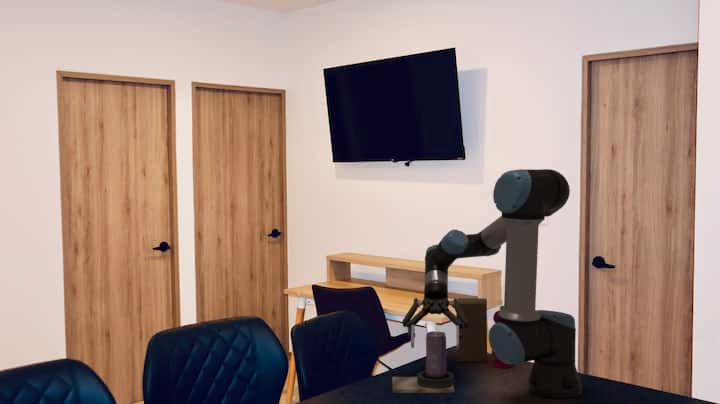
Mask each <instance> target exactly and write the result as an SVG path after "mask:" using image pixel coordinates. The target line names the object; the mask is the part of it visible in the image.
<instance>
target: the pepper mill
mask: <svg viewBox="0 0 720 404" xmlns="http://www.w3.org/2000/svg"><path fill="white" fill-rule="evenodd" d="M503 308H504V305H501V306H499V310H497V311H496V312H494V314H493V317H492V319H493V320H492V321H493V322H494V324H496V323H498V313H499V312H500V311H501V310H502V309H503ZM491 355H492V357H493V358H494V359H492V360H493V361H492V362H493V363H492V365H493V367H494V368H498V369H499V368H500V369H508V368H509V369H510V368H512V367H513V364H506V363H504V362H502V361H500V360H499V359H498V358H497V357H496V355H495V354H494V352H493V351H492V350H491Z"/></svg>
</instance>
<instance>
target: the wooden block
mask: <svg viewBox="0 0 720 404" xmlns="http://www.w3.org/2000/svg"><path fill="white" fill-rule="evenodd" d="M457 300H458V305H459V307H460V308H461V310H462V312H463V313H464V315H465V317H466V318H467V320H468V322H469V327H468V328H463V337H462V338H459V349H457V348H456V362H462V363H463V362H466V363H467V362H470V363H487V361H488V300H487V298H481V297H480V298H479V297H478V298H476V297H470V298H469V297H459V298H458V299H457ZM455 313H456V312H455ZM455 316H456V317H457V318H458V319H459V320H460V318H459V316H458V315H457V313H456V314H455ZM460 321H461V320H460ZM461 322H462V321H461Z"/></svg>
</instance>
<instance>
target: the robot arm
mask: <svg viewBox="0 0 720 404" xmlns="http://www.w3.org/2000/svg"><path fill="white" fill-rule="evenodd" d="M570 190H571V189H570V185H569V182H568V180H567V178H566V177H565V176H564V175H563V174H562V173H560V172H559V171H557V170H553V169H549V168H548V169H546V168H543V169H522V168H521V169H512V170H508V171H504V173H502V174H501V176H500V177H498V178H497V180H496V182H495V185H494V187H493V192H492V195H493V197H492V198H493V199H492V200H493V203H494V204H495V207H496V209H497V210H498V211H500V212H501V216H499V217H498V218H496V219H495V220H494V221H492V222H491V223H490V224H489V225H487V226H486V227H485V228H483V229H482V230H481V231H479V232H477V233H470V234H466V233H465V232H463V231H462V230H459V229H452V230H451V229H450V231H448V232H447V233H446V234H445V235H444V236H442V238H441V240H440V241H439V242H438V244H433V245H432V246H428V247H427V249H426V251H425V256H424V291H423V292H424V293H423V299H420V300H419V299H418V298H416V297H415V298H414V299H413V304H412V305H411V307H410V308H409V310H408V311H407V313H406V314H405V316H404V318H403V319H402V326H403V328H407V336H408V338H410V348H411V349H415V332H416V331H415V330H416V329H415V326H416V325H417V324H419V322H420V321H421V320H422V319H424V317H425V316H426V317H427V315H429V314H430V315H435V314H436V315H441V314H443V315H444V316H445V317H446V318H448V319H449V321H451V323H453V325H455V329H456V331H455V332H456V334H455V336H456V341H455V342H456V343H455V344H456V350H457V349H459V338H462V337H463V328H468V327H469V322H468V320H467V318H466V317H465V315H464V313H463V312H462V310H461V308H460V307H459V305H458V299H457V298H454V299H453V300H449V298H448V297H449V293H448V291H449V289H448V288H449V287H448V286H449V268H450V267H451V265H452V264H453V263H454V262H455V261H457V260H458V259H468V258H479V257H491V256H495V255H497V254H498V253H500V249H501V248H502V246H503V245H504V244H505V245H506V246H505V264H504V265H505V267H504V268H505V270H504V271H505V273H504V298H503V299H504V300H503V303H504V304H503V306H504V308H503V309H502V310H501V311H500V312H499V313H498V323H494V324H492V325H491V327H490V329H489V331H488V341H489V345H490V348H491V352H492V351H493V352H494V354H495V355H496V357H497V358H498V359H499V360H500V361H502V362H504V363H506V364H512V365H514V364H515V365H516V364H522V363H528V362H531V361H532V362H533V365H532V368H531V370H530V374H529V377H528V380H527V390H528V391H529V392H530V393H532V394H534V395H536V396H539V397H544V398H548V399H549V398H550V399H572V398H576V397H579V396H580V395H581V394H582V391H583V390H582V389H583V388H582V387H583V386H582V385H583V384H582V381H581V379H580V375H579V373H578V369H577V367H576V334H577V333H576V331H577V328H576V319H575V317H574V316H572V315H571V314H569V313H566V312H561V311H554V310H547V309H546V310H545V309H537V310H536V304H537V303H536V301H537V300H536V299H537V280H538V279H537V277H538V253H539V251H538V250H539V229H540V226H539V225H540V224H541V223H542V222H544V221H545V218H547V217H551V216H552V215H554V214H555V213H557V212H558V211H559V210H561V209H562V208H563V207H564V206H565V205H566V204H567V202H568V200H569V198H570V194H571V191H570ZM421 306H422V309H421V310H419V311H418V312H417V310H418V308H420V307H421ZM449 306H451V307H452V308H453V309H454V311H455V313H457V315H458V316H459V318H460V320H461V321H462V322H461V321H460V320H459V319H458V318H457V317H456V314H454V313H453V312H452V311H451V310H450V309H449V308H450V307H449ZM416 312H417V313H416ZM415 313H416V314H415Z"/></svg>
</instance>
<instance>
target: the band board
mask: <svg viewBox="0 0 720 404" xmlns="http://www.w3.org/2000/svg"><path fill="white" fill-rule="evenodd" d="M391 379H392V380H391V381H392V386H391V387H392V394H413V393H414V394H428V393H429V394H442V393H443V394H448V393H449V394H450V393H452V394H454V393H455V388H454V385H455V374H454V373H453V372H451V371H448V370H446V378H445V379H427V378H426V370H422V371H420V372H418V373H417V376H391Z"/></svg>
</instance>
